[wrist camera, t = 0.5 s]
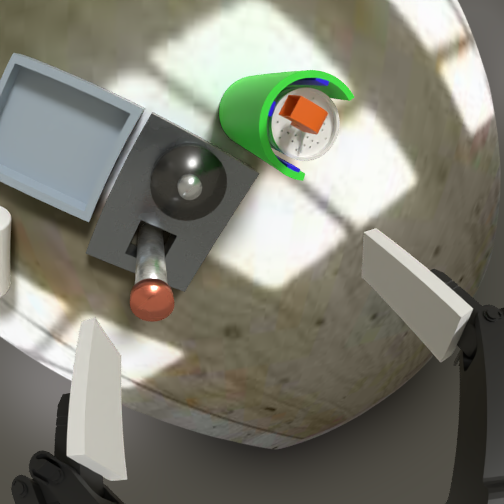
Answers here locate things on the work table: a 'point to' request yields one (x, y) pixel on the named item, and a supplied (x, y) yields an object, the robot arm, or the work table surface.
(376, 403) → the work table surface
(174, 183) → the grey block with dome
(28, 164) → the tray
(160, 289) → the pin
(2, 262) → the mug
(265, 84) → the green-shelled ribbed roller
